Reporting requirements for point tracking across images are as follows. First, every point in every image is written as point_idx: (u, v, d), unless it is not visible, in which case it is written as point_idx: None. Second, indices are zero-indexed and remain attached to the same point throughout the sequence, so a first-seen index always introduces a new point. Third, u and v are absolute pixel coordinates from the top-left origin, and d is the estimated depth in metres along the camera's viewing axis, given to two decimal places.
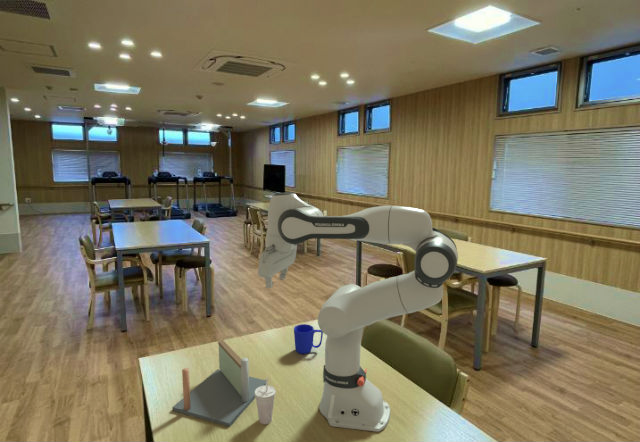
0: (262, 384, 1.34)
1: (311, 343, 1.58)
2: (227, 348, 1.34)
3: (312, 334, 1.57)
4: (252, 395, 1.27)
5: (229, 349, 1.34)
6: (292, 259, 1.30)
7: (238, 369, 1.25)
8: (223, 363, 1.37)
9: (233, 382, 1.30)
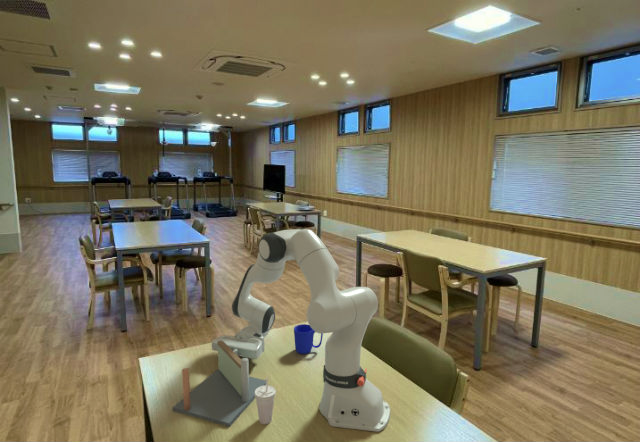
0: (262, 384, 1.34)
1: (311, 343, 1.58)
2: (226, 348, 1.34)
3: (312, 334, 1.57)
4: (252, 395, 1.27)
5: (228, 349, 1.34)
6: (252, 347, 1.44)
7: (238, 369, 1.25)
8: (222, 363, 1.37)
9: (233, 382, 1.30)
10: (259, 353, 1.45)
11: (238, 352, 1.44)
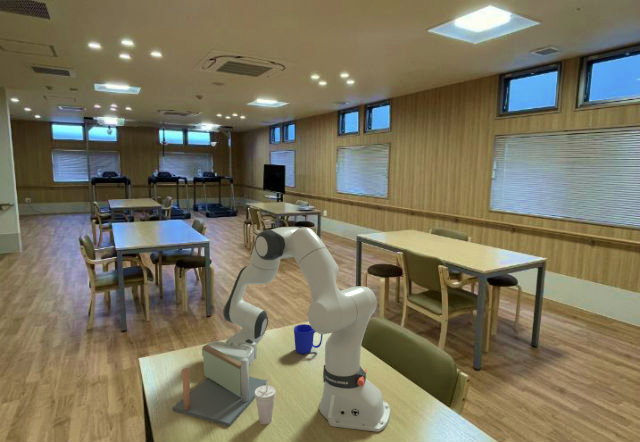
0: (262, 384, 1.34)
1: (311, 343, 1.58)
2: (217, 352, 1.32)
3: (312, 334, 1.57)
4: (252, 395, 1.27)
5: (219, 352, 1.31)
6: (243, 354, 1.39)
7: (236, 370, 1.25)
8: (211, 368, 1.34)
9: (227, 385, 1.29)
10: (250, 360, 1.39)
11: None
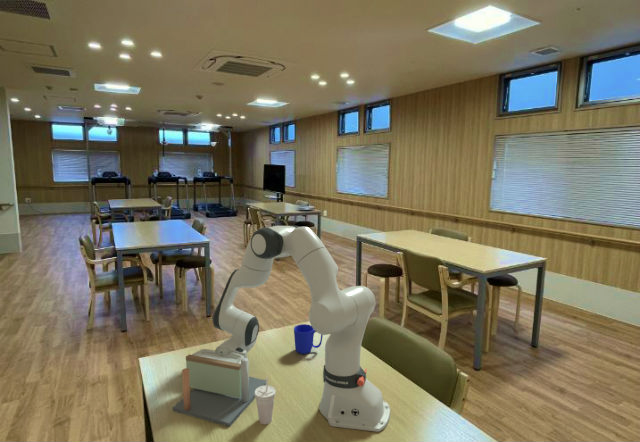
0: (262, 384, 1.34)
1: (311, 343, 1.58)
2: (205, 359, 1.27)
3: (312, 334, 1.57)
4: (252, 395, 1.27)
5: (208, 359, 1.27)
6: None
7: (235, 372, 1.23)
8: (198, 377, 1.28)
9: (222, 390, 1.26)
10: None
11: None
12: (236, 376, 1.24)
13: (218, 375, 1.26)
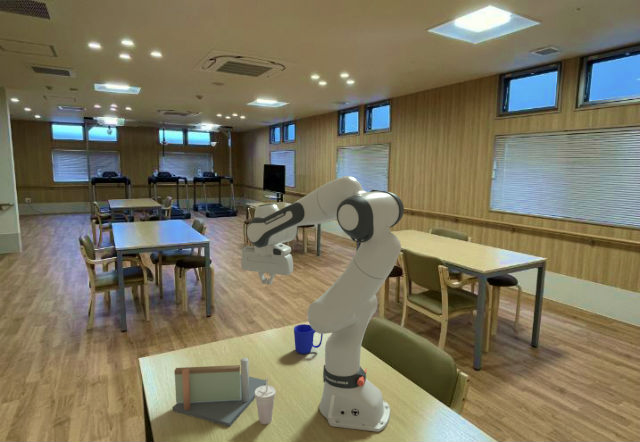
0: (262, 384, 1.34)
1: (311, 343, 1.58)
2: (198, 368, 1.21)
3: (312, 334, 1.57)
4: (252, 395, 1.27)
5: (202, 368, 1.22)
6: (283, 269, 1.37)
7: (234, 374, 1.22)
8: (190, 389, 1.21)
9: (219, 396, 1.23)
10: (292, 266, 1.39)
11: None
12: (236, 378, 1.22)
13: (215, 382, 1.22)
